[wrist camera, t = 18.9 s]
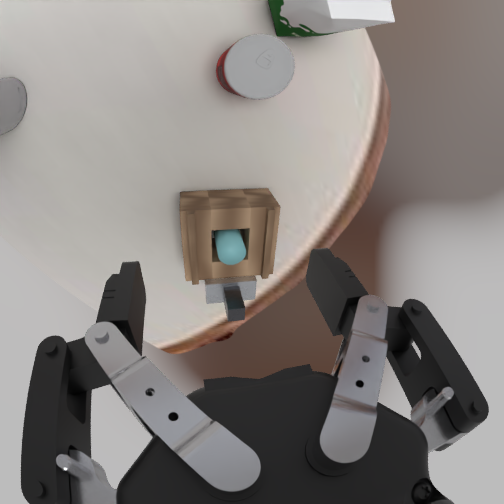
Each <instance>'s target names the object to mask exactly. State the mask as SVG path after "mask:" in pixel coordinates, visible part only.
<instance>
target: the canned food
mask: <svg viewBox="0 0 504 504" xmlns="http://www.w3.org/2000/svg"><path fill="white" fill-rule="evenodd" d="M294 69H295V63H294V58H293V54H292V52H291V50H290V49H289V47H288V46H287V45H286V44H285V43H284V42H283V41H281V40H280V39H278V38H276V37H274V36H271V35H267V34H254V35H250V36H246V37H244V38H242V39H240V40H239V41H237V42H236V43H235V44H233V45H232V46H231V47H230V48H229V49H227V50H226V51H225V52H224V53H223V54H222V55H221V57H220V58H219V60H218V63H217V68H216V73H217V78H218V81H219V82H220V84H221V85H222V86H223V87H224V89H226V90H227V91H229V92H231V93H233V94H236V95H239V96H242V97H245V98H250V99H258V100H260V99H267V98H270V97H273V96H275V95H277V94H279V93H281V92H282V91H283V90H284V89H285V88H286V87H287V86H288V85H289V83H290V81H291V80H292V77H293V74H294Z"/></svg>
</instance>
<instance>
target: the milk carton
mask: <svg viewBox="0 0 504 504" xmlns="http://www.w3.org/2000/svg"><path fill="white" fill-rule="evenodd" d="M390 1H391V0H268V3H269V6H270V10H271V14H272V18H273V22H274V26H275V30H276V34H277V36H297V37H306V36H322V35H328V34H333V33H338V32H343V31H349V30H354V29H360V28H364V27H369V26H374V25H379V24H385V23H392V22H395V20H394V15H393V11H392V7H391V2H390Z"/></svg>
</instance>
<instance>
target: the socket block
mask: <svg viewBox="0 0 504 504" xmlns="http://www.w3.org/2000/svg"><path fill="white" fill-rule="evenodd" d="M279 215H280V205H279V204H278V202H277V201H276V199H275V198H274V196H273V195H272V194H271V192H270V191H269V189H268V188H265V189H230V190H207V191H189V192H180V223H181V236H182V247H183V258H184V268H185V278H186V281H192V285H195V284H199V280H207V279H219V278H231V277H243V276H255V275H261V277H262V279H266V278H268V276H269V274H273V267H274V259H275V250H276V242H277V233H278V224H279ZM228 229H240V234H241V237H242V240H243V243H244V246H245V249H246V255H245V257H244V259H243V260H242V261H241V262H239V263H237V264H234V265H227V264H224V263H223V262H221V261H220V259H219V257H218V252H217V247H216V242H215V238H211V230H228Z"/></svg>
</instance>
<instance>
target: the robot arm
mask: <svg viewBox="0 0 504 504" xmlns="http://www.w3.org/2000/svg"><path fill="white" fill-rule="evenodd" d="M26 102H27V97H26V91H25V88H24V86H23V84H22V83H21V82H20V81H19V80H18V79H16V78H12V77H9V78H2V79H0V135H2V134H4V133H6V132H8V131H10V130H12V129H13V128H15V127H16V126H17V125H18V123H19V122H20V121H21V119H22V117H23V115H24V112H25V109H26ZM306 282H307V286H308V288H309V290H310V292H311V294H312V296H313V298H314V300H315V301H316V303H317V305H318V307H319V309H320V311H321V313H322V315H323V317H324V319H325V321H326V322H327V324H328V326H329V328H330V330H331V332H332V334H333V336H336V335H340V334H342V335H343V336H344V339H343V341H342V344H341V347H340V350H339V353H338V356H337V360H336V363H335V366H334V369H333V371H332V374H331V375H330V374H327V373H323V372H317V371H312V369H311V366H310V364H307V365H302V366H297V367H292V368H287V369H283V370H281V371H279V372H276V373H274V374H272V375H269V376H267V377H264V378H261V379H251V378H250V379H249V378H238V377H225V378H216V379H206V380H204V386H205V387H203V388H200V389H198V390H196V391H193V392H192V393H191V394H189V395H187V396H185V395H184V394H183V393H182V392H180V390H179V389H178V388H176V386H175V385H173V384H172V383H171V382H170V380H169V379H167V378H166V376H164V375H163V373H162V372H161V371H160V370H159V369H158V368H157V367H156V366H155V365H154V364H153V363H152V362H151V361H150V360H149V359H148V358H147V357H142V343H143V328H144V315H145V304H146V293H145V286H144V282H143V277H142V273H141V268H140V264H139V262H138V261H136V262H123V263H122V266H121V270H120V274H112V276H111V277H110V278H109V279H108V280H107V282H106V285H105V288H104V292H103V296H102V300H101V304H100V308H99V312H98V316H97V320H96V324H94V325H92V326H91V327H90V328H89V329H88V330H87V332H86V334H85V337H83V338H81V339H78V340H75V341H71V342H68V343H66V342H65V340H64V339H63V338H62V337H60V336H50V337H47V338H46V339H44V340H43V341H42V342H41V343H40V344H39V346H38V349H37V353H36V357H35V361H34V366H33V370H32V376H31V380H30V386H29V391H28V397H27V404H26V411H25V418H24V427H23V439H22V454H21V489H22V493H23V495H24V497H25V499H26V500H27V501H28V503H29V504H454V503H453V502H452V501H451V500H449V499H448V498H446V497H445V496H444V495H442V494H441V493H440V492H439V491H438V490H437V489H436V488H435V487H434V485H433V484H432V482H431V480H430V477H429V471H428V453H430V452H431V451H433V450H436V451H442V450H444V449H446V448H447V447H449V446H450V445H452V444H453V443H455V442H456V441H458V440H459V439H460V438H462V437H463V436H465V435H466V434H467V433H469V432H470V431H471V430H473V429H474V428H475V427H477V426H478V425H479V424H480V423H482V422H483V421H484V420H485V419H486V418H487V416H488V412H489V409H488V404H487V401H486V399H485V397H484V396H483V394H482V392H481V391H480V389H479V387H478V385H477V383H476V381H475V380H474V378H473V376H472V375H471V373H470V371H469V370H468V368H467V366H466V365H465V363H464V362H463V360H462V358H461V357H460V355H459V354H458V352H457V351H456V349H455V347H454V346H453V344H452V343H451V341H450V340H449V338H448V337H447V335H446V334H445V333H444V331H443V329H442V328H441V326H440V325H439V324H438V322H437V321H436V320H435V318H434V317H433V315H432V314H431V312H430V311H429V310H428V308H427V307H426V306H425V305H424V304H423V303H422V302H420V301H418V300H415V299H408V300H406V301H405V302H404V304H403V305H402V307H389V306H387V304H386V303H385V302H384V301H383V300H382V299H381V298H379V297H377V296H373V295H369V294H368V292H367V291H366V290H365V288H364V287H363V286H362V284H361V283H360V281H359V280H358V278H357V277H355V274H354V273H353V272H351V269H350V268H349V266H348V265H347V264H346V263H345V262H344V261H342V260H341V259H340V258H338V257H337V258H335V257H334V255H333V254H332V252H331V251H330V250H329V249H328V248H322V249H313V250H312V251H311V254H310V259H309V264H308V269H307V274H306ZM413 341H414V342H415V343H416V345H417V346H418V348H419V350H420V352H421V360H420V358H419V356H418V355H417V353H416V351H415V349H414V348H413V346H412V343H413ZM386 357H387V358H388V360H389V362H390V364H391V366H392V368H393V370H394V372H395V374H396V376H397V378H398V380H399V382H400V384H401V386H402V388H403V390H404V392H405V395H406V397H407V399H408V401H409V403H410V405H411V407H412V410H411V420H409V419H407V418H405V417H403V416H402V415H399V414H398V413H396V412H394V411H393V410H391V409H389V408H387V407H386V406H384V405H382V404H381V403H379V402H377V401H378V397H379V391H380V386H381V382H382V376H383V371H384V365H385V359H386ZM109 384H110V385H111V386H112V388H113V389H114V390H115V392H116V393H117V394H118V396H119V397H120V398H121V400H122V401H123V402H124V404H125V405H126V406H127V407H128V409H129V410H130V411H131V412H132V413H133V415H134V416H135V417H136V419H137V420H138V421H139V422H140V424H141V425H142V426H143V427H144V428H145V430H146V431H147V432H148V433H149V434H150V435H151V436H152V437H153V438H152V440H151V441H150V443H149V444H148V445H147V447H146V448H145V449H144V450H143V452H142V453H141V454H140V456H139V457H138V459H137V460H136V461H135V462H134V464H133V465H132V466H131V468H130V469H129V470H128V472H127V473H126V474H125V475H124V477H123V478H122V480H121V481H120V483H119V485H118V488H117V489H114V488H112V487H111V485H110V484H109V482H108V480H107V478H106V474H105V471H104V469H103V468H102V466H101V465H100V464H98V463H97V462H96V461H94V460H93V459H91V434H90V433H91V432H90V431H91V430H90V429H91V428H90V427H91V424H90V422H91V393H92V389H95V388H99V387H102V386H105V385H109Z"/></svg>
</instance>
